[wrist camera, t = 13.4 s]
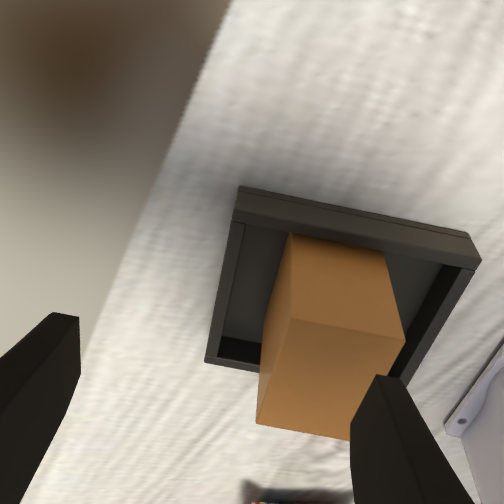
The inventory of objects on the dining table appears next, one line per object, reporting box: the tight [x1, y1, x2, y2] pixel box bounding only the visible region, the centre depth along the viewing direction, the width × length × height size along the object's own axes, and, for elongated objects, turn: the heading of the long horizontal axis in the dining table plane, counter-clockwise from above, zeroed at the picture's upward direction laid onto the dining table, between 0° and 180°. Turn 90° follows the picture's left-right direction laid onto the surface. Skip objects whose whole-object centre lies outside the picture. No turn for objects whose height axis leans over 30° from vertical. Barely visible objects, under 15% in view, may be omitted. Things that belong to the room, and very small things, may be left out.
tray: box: [204, 186, 482, 387], centre depth 22 cm, size 9×10×2 cm
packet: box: [256, 232, 405, 441], centre depth 20 cm, size 4×6×6 cm, turn 169°
